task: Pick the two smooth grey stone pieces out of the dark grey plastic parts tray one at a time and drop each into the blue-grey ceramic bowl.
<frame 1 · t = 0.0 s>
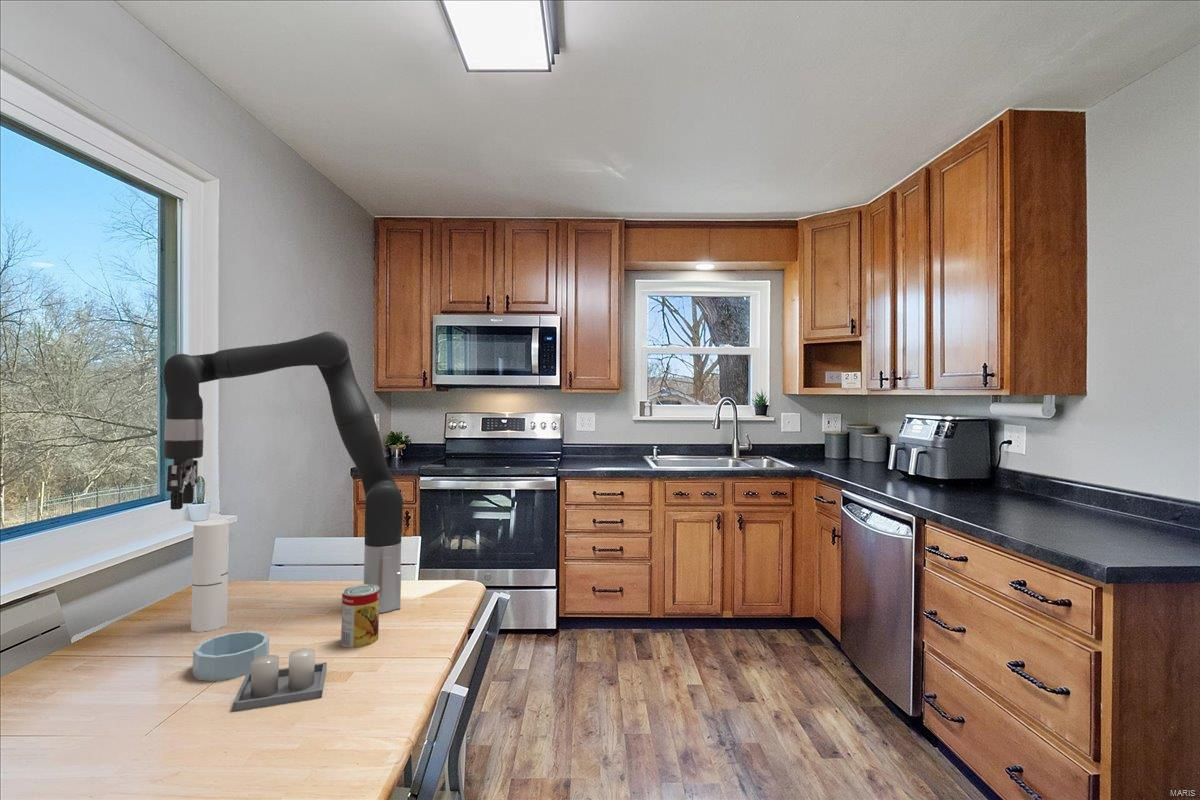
hand: (182, 506, 135), 29 cm above the table, fingers open, 8 cm apart
stone 1: (301, 684, 108), resting on tray
tray: (283, 691, 107), on the table
bowl: (231, 668, 116), on the table
cylindrical container: (209, 627, 137), on the table
stone 2: (264, 692, 105), resting on tray
canned food: (359, 643, 129), on the table
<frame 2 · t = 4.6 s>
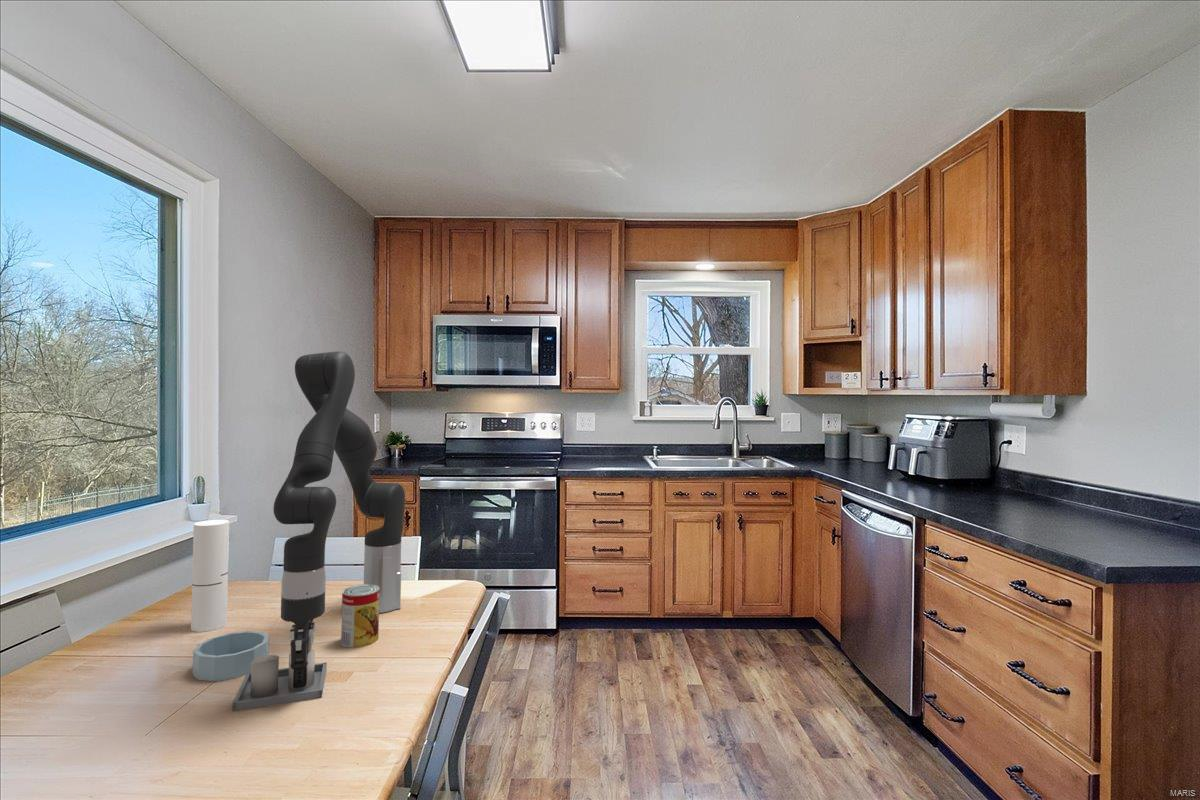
hand: (301, 680, 108), 1 cm above the table, fingers closed on stone 1, 4 cm apart
stone 1: (301, 684, 108), resting on tray, touching gripper
everything else where it was.
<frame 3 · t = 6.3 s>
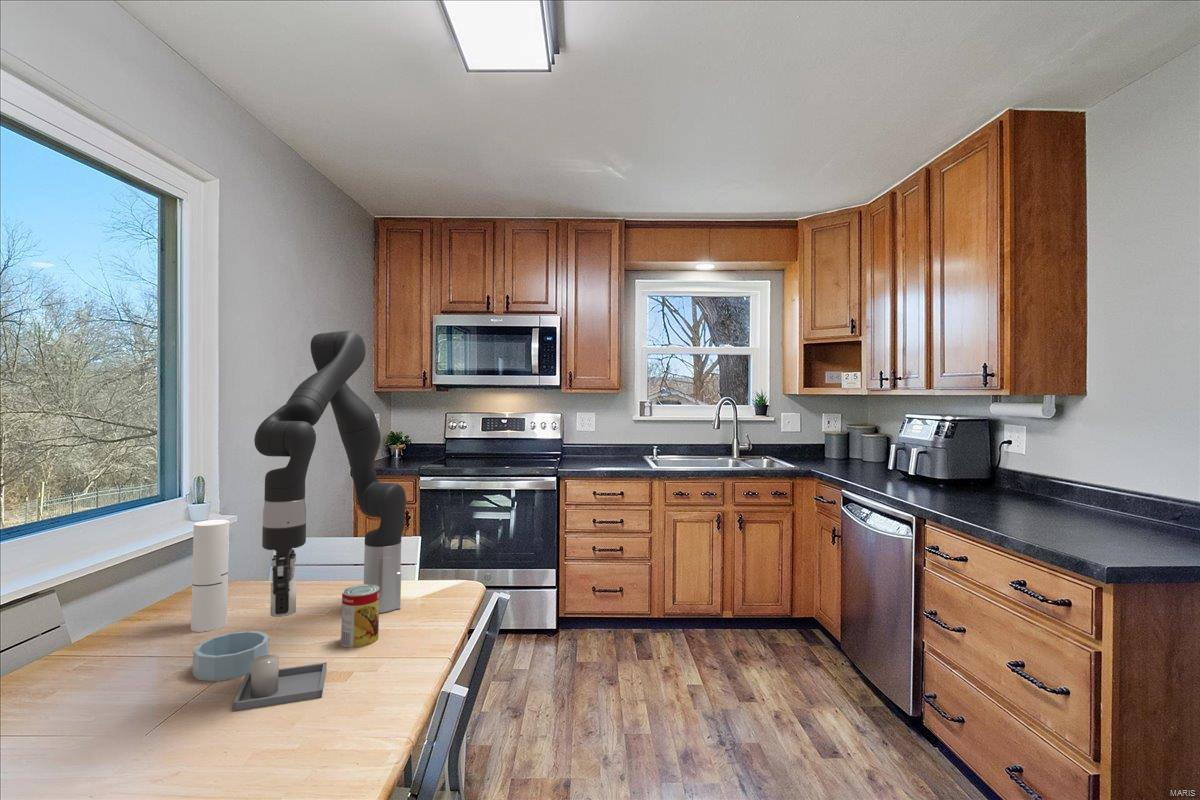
hand: (283, 608, 111), 14 cm above the table, fingers closed on stone 1, 4 cm apart
stone 1: (283, 612, 111), point 13 cm above the table, touching gripper
everything else where it was.
when the fingers open (7 cm above the table, at t = 8.2 s): stone 1 drops 5 cm, resting on bowl.
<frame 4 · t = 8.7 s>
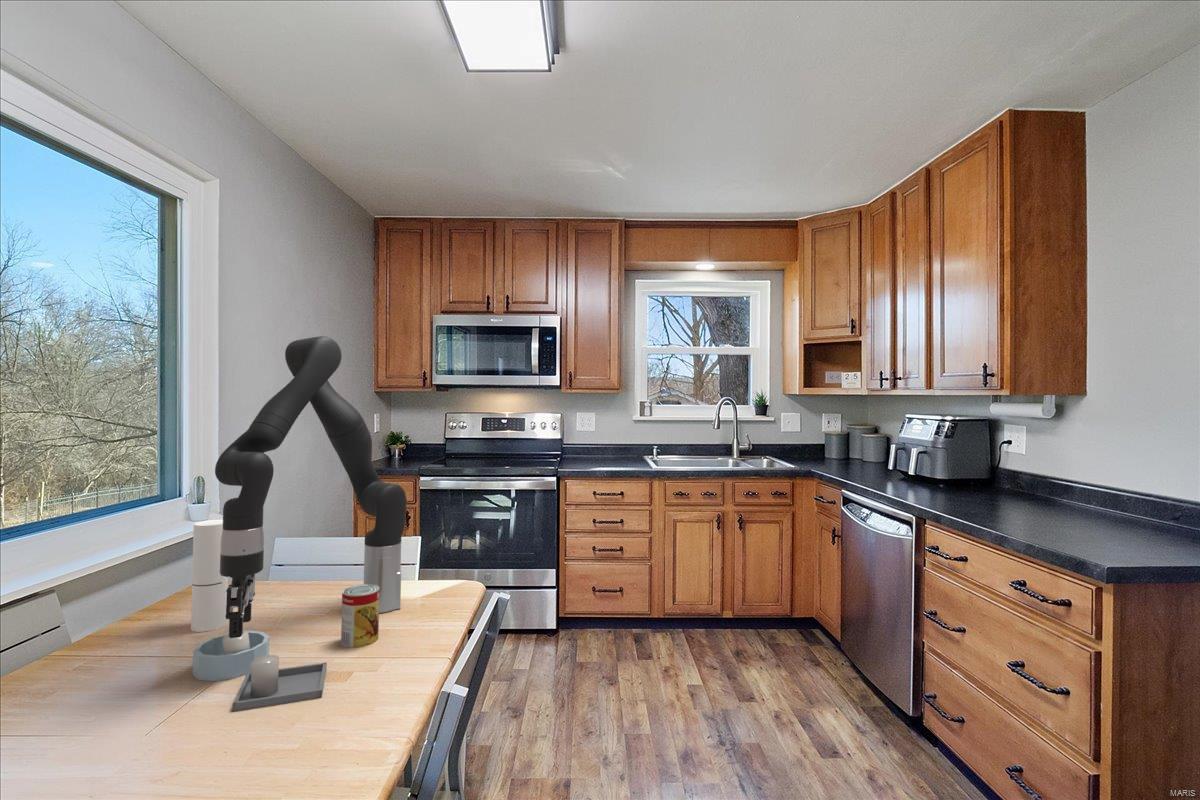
hand: (240, 629, 115), 8 cm above the table, fingers open, 8 cm apart
stone 1: (239, 663, 115), point 1 cm above the table, tilted 13°, touching bowl
everything else where it was.
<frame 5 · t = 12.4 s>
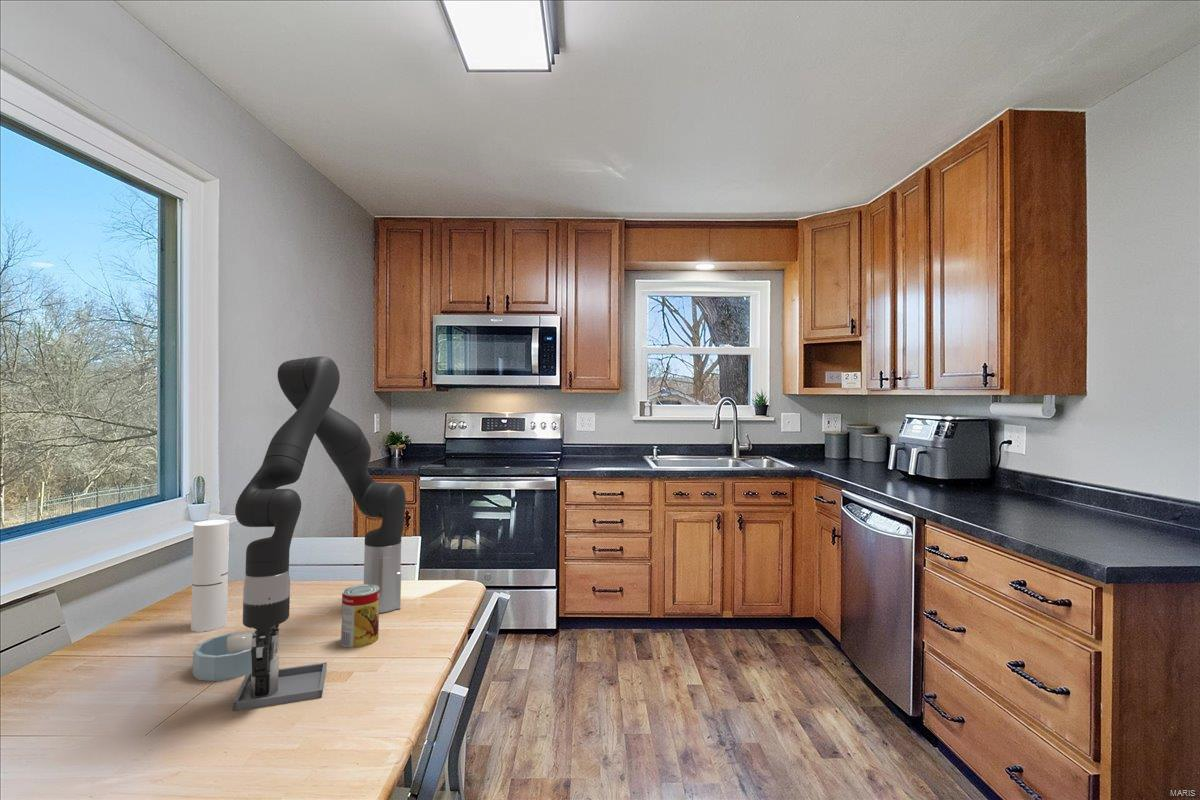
hand: (264, 687, 105), 1 cm above the table, fingers closed on stone 2, 4 cm apart
stone 1: (239, 665, 115), point 1 cm above the table, touching bowl
stone 2: (264, 692, 105), resting on tray, touching gripper
everything else where it was.
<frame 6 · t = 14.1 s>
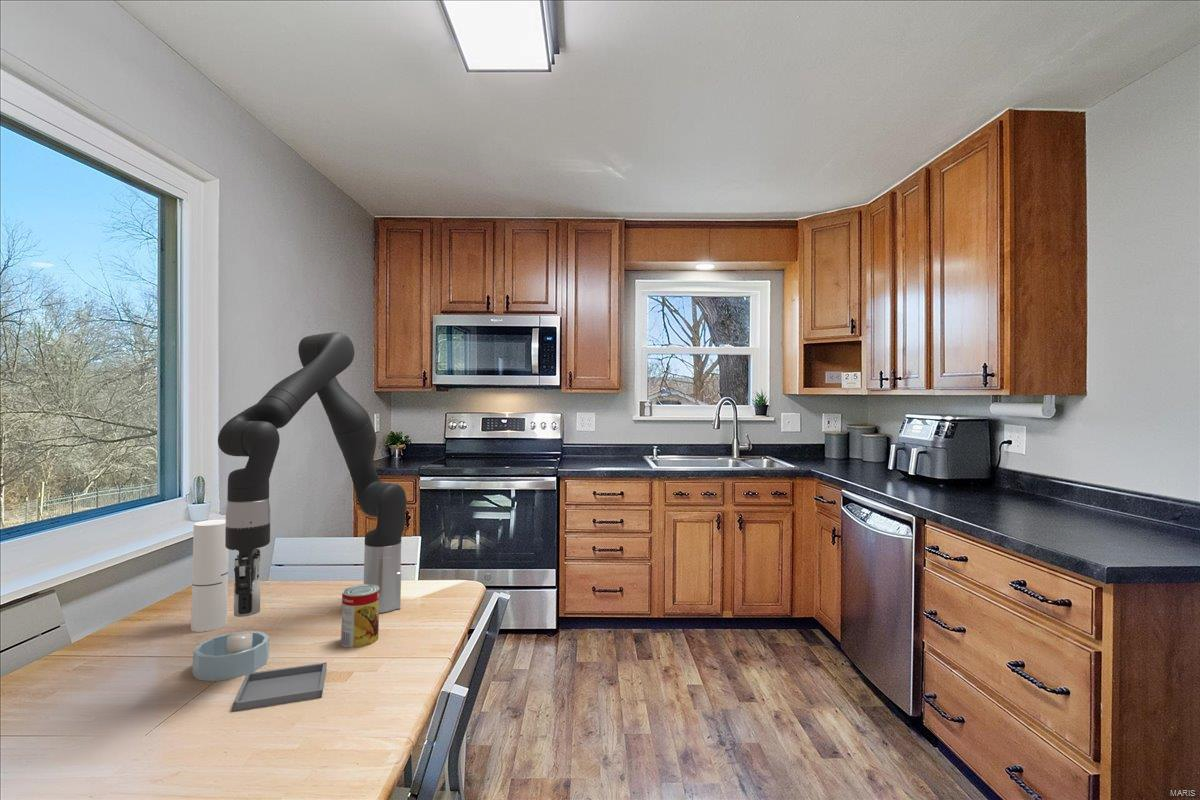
hand: (247, 608, 112), 14 cm above the table, fingers closed on stone 2, 4 cm apart
stone 2: (247, 612, 111), point 13 cm above the table, touching gripper
everything else where it was.
when the fingers open (8 cm above the table, at t = 15.9 s): stone 2 drops 2 cm and tips over, resting on bowl, stone 1.
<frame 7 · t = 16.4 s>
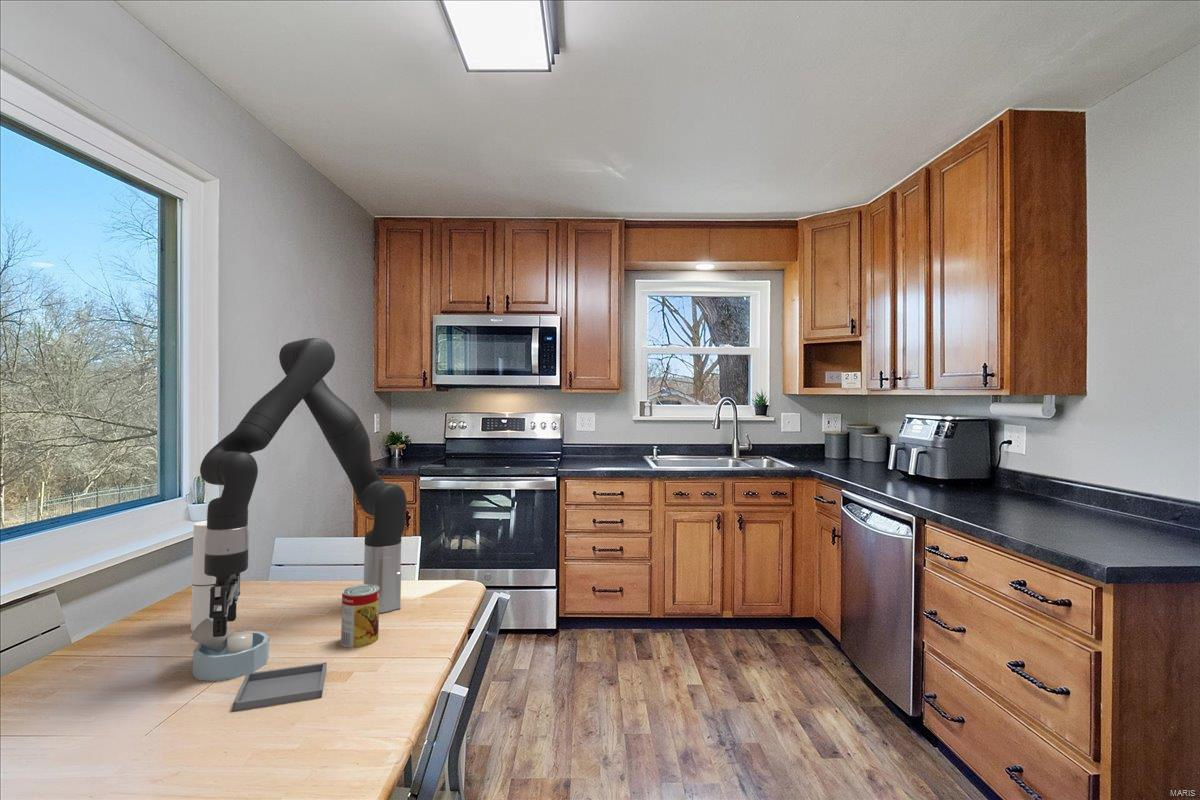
hand: (224, 628, 116), 8 cm above the table, fingers open, 8 cm apart
stone 1: (239, 665, 115), point 1 cm above the table, touching bowl, stone 2
stone 2: (226, 642, 116), point 5 cm above the table, tilted 63°, touching bowl, stone 1
everything else where it was.
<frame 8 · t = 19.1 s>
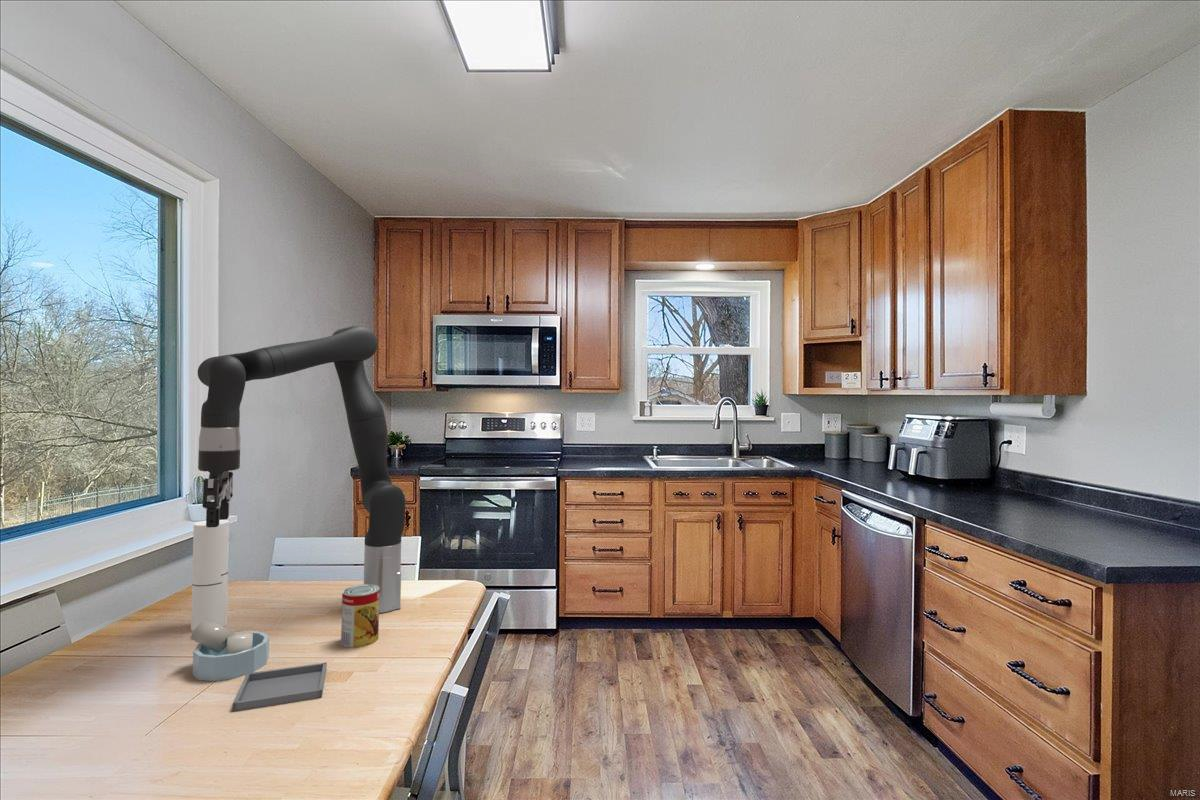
hand: (217, 523, 122), 28 cm above the table, fingers open, 8 cm apart
nothing on the table moved.
at the end: stone 1 inside the target area on the bowl (1.9 cm from its centre), point 0.8 cm above the bowl's base; stone 2 inside the target area on the bowl (1.2 cm from its centre), point 5.2 cm above the bowl's base; the gripper is holding nothing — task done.
